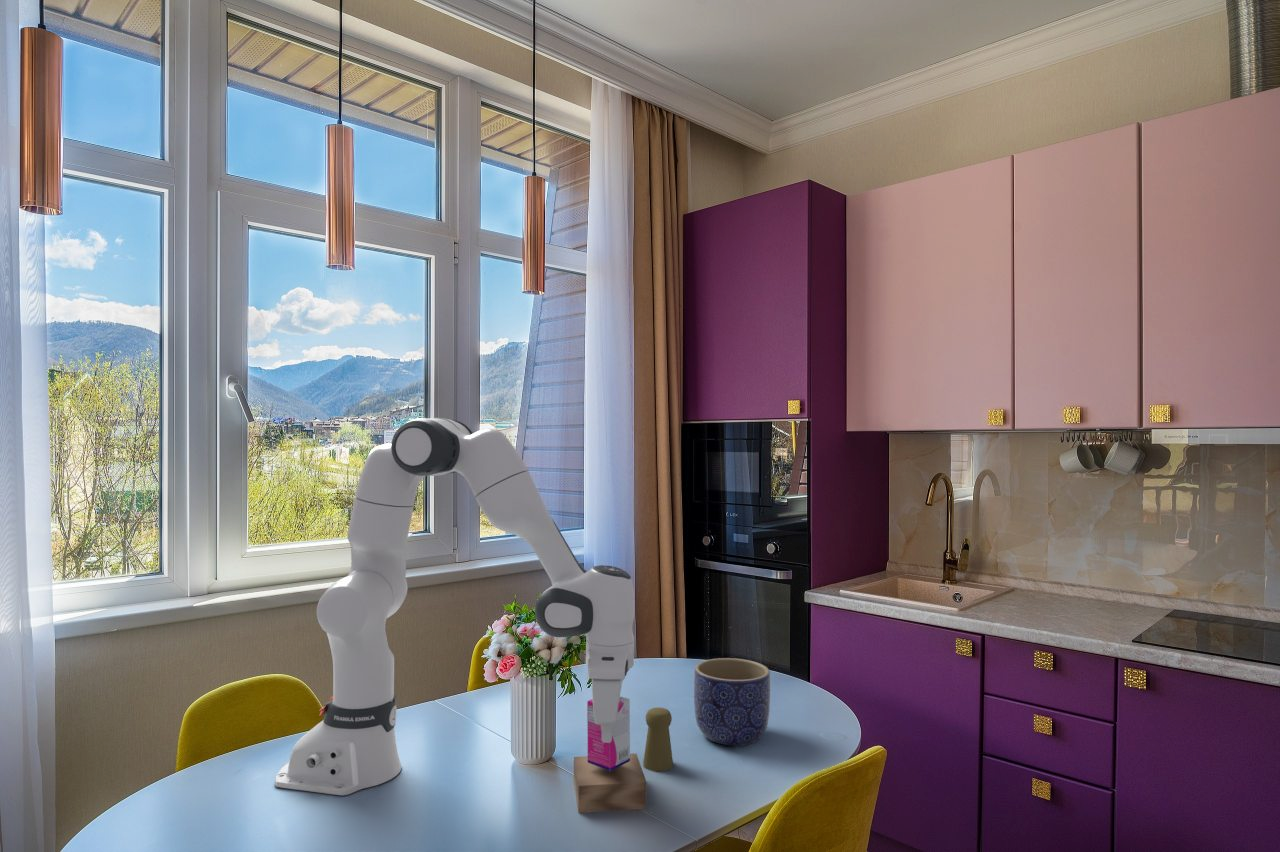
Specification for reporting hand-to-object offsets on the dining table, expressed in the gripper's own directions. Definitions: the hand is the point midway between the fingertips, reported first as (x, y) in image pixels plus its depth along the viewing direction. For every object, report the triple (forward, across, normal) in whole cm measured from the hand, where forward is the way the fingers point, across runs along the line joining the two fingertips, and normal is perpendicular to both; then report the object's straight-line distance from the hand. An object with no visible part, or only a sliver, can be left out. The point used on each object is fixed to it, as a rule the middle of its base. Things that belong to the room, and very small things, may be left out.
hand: (608, 731), depth 139 cm
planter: (+12, -28, +25) cm, 39 cm away
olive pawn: (+12, -13, +9) cm, 20 cm away
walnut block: (+12, 0, 0) cm, 12 cm away
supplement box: (+6, 0, 0) cm, 6 cm away
